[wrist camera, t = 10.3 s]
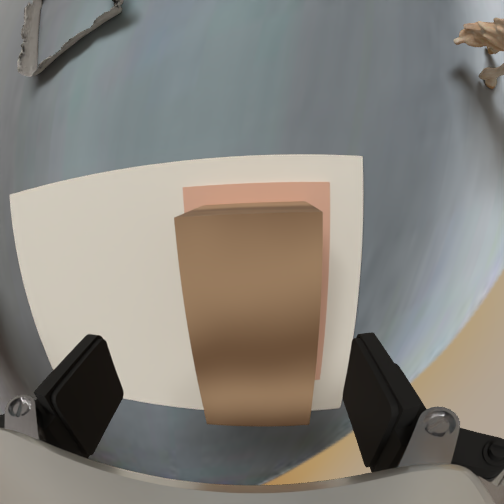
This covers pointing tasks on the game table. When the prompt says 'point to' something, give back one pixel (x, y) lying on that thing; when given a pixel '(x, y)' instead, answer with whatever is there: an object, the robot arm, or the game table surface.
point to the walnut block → (253, 308)
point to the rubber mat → (174, 262)
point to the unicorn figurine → (485, 44)
